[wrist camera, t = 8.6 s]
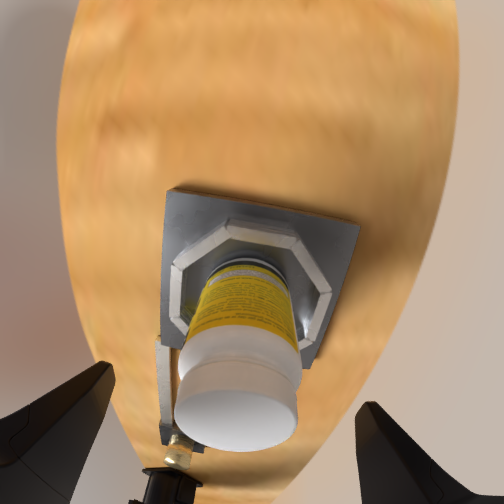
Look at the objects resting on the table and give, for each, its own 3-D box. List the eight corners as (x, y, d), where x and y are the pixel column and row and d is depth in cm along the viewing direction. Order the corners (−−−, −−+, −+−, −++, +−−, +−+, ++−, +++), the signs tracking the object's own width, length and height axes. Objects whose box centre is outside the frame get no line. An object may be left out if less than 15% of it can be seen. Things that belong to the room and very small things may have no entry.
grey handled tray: (263, 455, 24) (263, 484, 20) (163, 438, 23) (155, 466, 20) (355, 222, 14) (382, 246, 11) (159, 186, 14) (128, 200, 10)
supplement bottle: (192, 265, 15) (134, 382, 7) (280, 246, 14) (301, 366, 6) (218, 335, 16) (194, 458, 9) (295, 322, 16) (315, 448, 8)
